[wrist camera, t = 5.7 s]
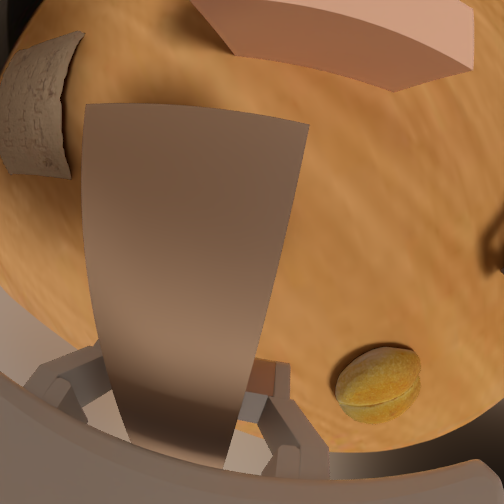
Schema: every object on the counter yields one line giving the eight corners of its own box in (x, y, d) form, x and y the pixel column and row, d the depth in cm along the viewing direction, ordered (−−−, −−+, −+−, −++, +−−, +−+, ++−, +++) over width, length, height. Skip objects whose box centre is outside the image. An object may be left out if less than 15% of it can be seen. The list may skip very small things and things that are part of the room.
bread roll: (415, 330, 21) (430, 361, 17) (416, 389, 24) (425, 418, 20) (325, 357, 23) (328, 393, 19) (342, 411, 26) (345, 441, 22)
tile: (244, 16, 13) (206, -59, 5) (399, 52, 13) (473, 9, 5) (235, 56, 15) (187, -3, 6) (393, 92, 14) (473, 70, 6)
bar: (185, 110, 8) (85, 103, 4) (296, 126, 8) (309, 124, 3) (172, 412, 15) (147, 480, 10) (228, 426, 15) (213, 497, 10)
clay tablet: (22, 47, 15) (3, 46, 12) (94, 19, 14) (74, 11, 11) (14, 184, 21) (-4, 191, 18) (80, 186, 20) (59, 195, 17)
